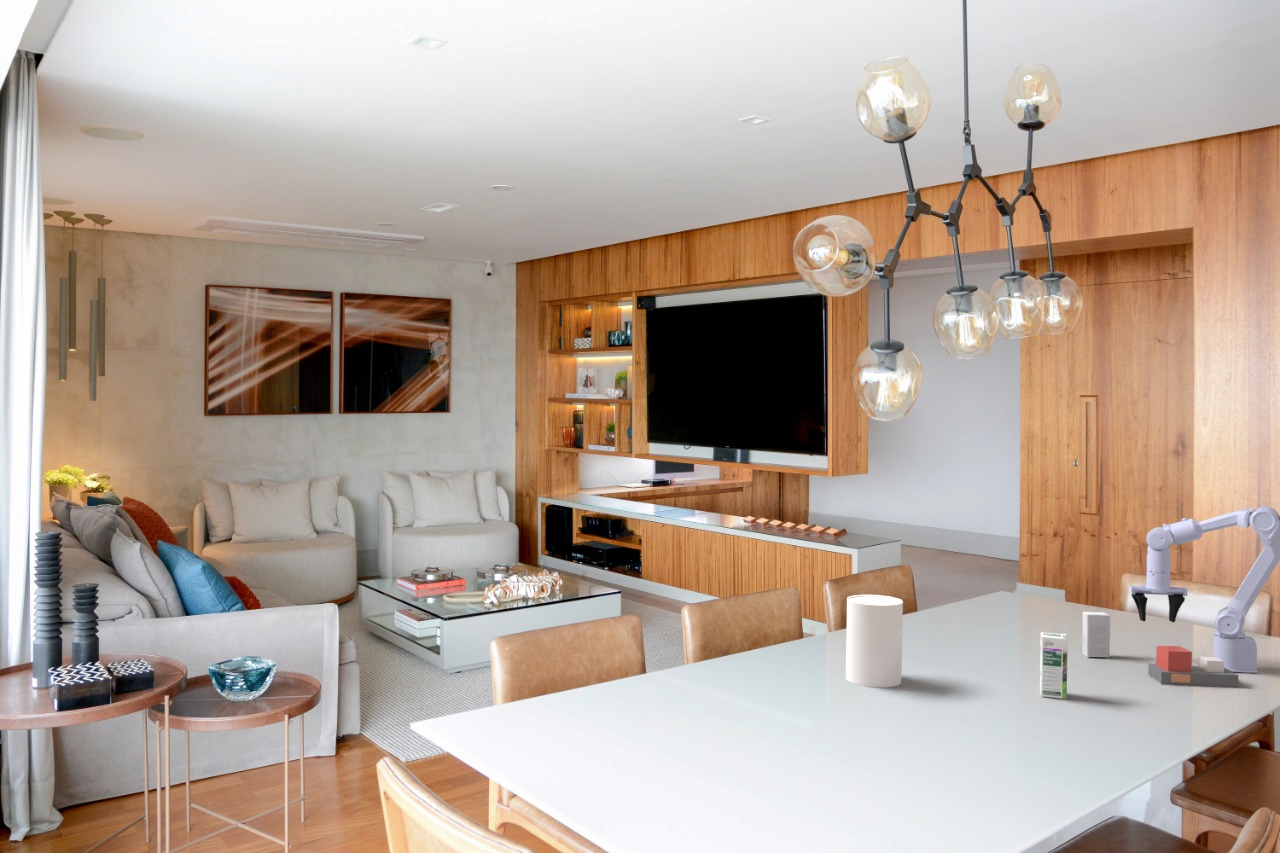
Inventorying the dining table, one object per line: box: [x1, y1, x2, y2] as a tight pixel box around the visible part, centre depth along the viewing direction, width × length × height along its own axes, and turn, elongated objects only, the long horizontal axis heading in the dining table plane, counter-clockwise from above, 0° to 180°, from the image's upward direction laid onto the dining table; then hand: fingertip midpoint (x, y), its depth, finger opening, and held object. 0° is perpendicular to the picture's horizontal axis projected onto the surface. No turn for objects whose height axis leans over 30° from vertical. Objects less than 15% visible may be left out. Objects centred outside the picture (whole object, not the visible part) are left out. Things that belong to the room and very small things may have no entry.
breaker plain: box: [1199, 656, 1224, 673], centre depth 245 cm, size 4×4×4 cm
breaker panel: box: [1147, 663, 1239, 688], centre depth 245 cm, size 18×8×3 cm, turn 83°
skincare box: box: [1081, 611, 1111, 659], centre depth 269 cm, size 6×4×12 cm
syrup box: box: [1039, 631, 1069, 700], centre depth 232 cm, size 6×6×14 cm
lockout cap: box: [1155, 645, 1193, 672], centre depth 246 cm, size 6×6×5 cm
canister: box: [845, 594, 904, 688], centre depth 244 cm, size 14×14×20 cm
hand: (1157, 620), depth 267 cm, fingers open, 7 cm apart
